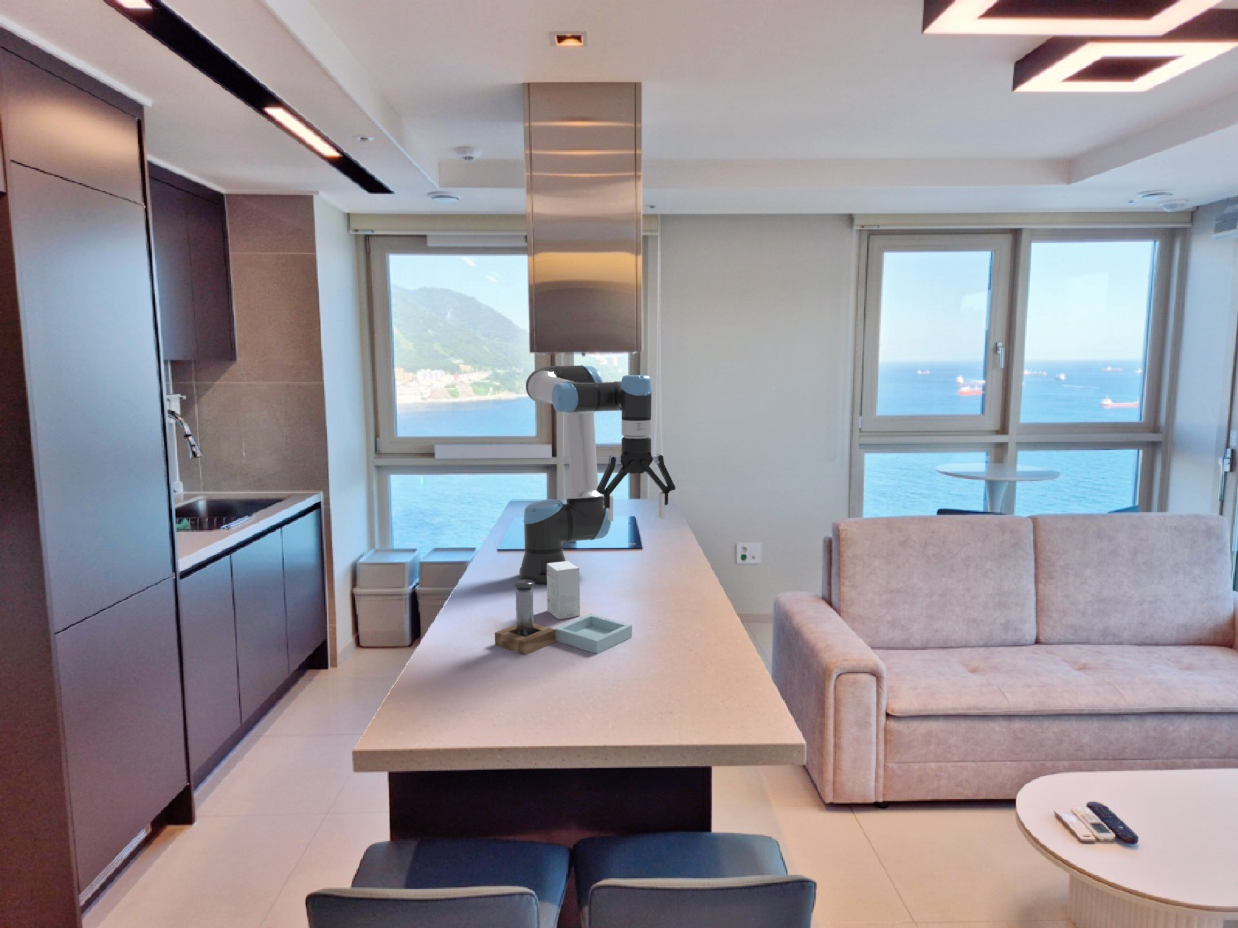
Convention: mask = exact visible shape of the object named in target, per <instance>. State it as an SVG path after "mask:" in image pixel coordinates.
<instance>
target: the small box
mask: <svg viewBox="0 0 1238 928" xmlns="http://www.w3.org/2000/svg"><path fill="white" fill-rule="evenodd" d="M580 582H581V581H580V567H578V566H577V565H575V564H573V563H572V562H570V561H569V560H566V561H564V562H555V563H547V584H546V610H547V612H549V613H550V614H551V615H552V616H553V617H555V618H556V619H557V620H563V619H570V618H575V617H580V616H581V615H580V614H581V606H580V605H581V604H580V600H581V598H580V597H581V595H580V593H581V591H580V590H581V589H580V584H581V583H580Z"/></svg>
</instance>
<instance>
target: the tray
mask: <svg viewBox="0 0 1238 928" xmlns="http://www.w3.org/2000/svg"><path fill="white" fill-rule="evenodd" d="M554 629H555V642H557V643H558V642H559V643H561V644H565V645H569V646H571V647H574V648H577V649H581V650H584V651H587V652H590V653H593V654H597V655H598V654H599V653H602V652H604V651H606V650H609V649H610V648H612V647H615V646H616V645H618V644H620V643H623V642H625V641H626V640H629V639H631V638H633V624H630V623H625V622H621V621H619V620H614V619H610V618H607V617H603V616H599V615H596V614H592V613H590V614H587V615H584V616H583V617H580V618H577V619H575V620H572V621H570V622H568V623H566V624H563V625H560V626H558V627H556V628H554Z"/></svg>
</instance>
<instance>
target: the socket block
mask: <svg viewBox="0 0 1238 928" xmlns="http://www.w3.org/2000/svg"><path fill="white" fill-rule="evenodd" d="M553 643H556V641H555V628H552V627H548V626H546V625H545V626H544V625H541V624H538V623H534V634H532V635H529V636H527V637H523V636H520V635H517V627H516V623H515V624H513V625H511V626H507V627H505V628H503V629H500V630H498V631H495V632H494V645H495V646H499V647H501V648H503V649H507V650H509V651H513V652H516V653H519V654H523V655H524V656H525V655H526V656H527V655H528V654H530V653H533V652H535V651H537V650H540V649H543V648H545V647H547V646H549V645H551V644H553Z"/></svg>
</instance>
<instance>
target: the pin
mask: <svg viewBox="0 0 1238 928" xmlns="http://www.w3.org/2000/svg"><path fill="white" fill-rule="evenodd" d="M535 584H536V583H535V582H534V581H533V580H526V579H525V580H521V579H517V580H515V581H513V587H514V588H515V615H516V616H515V618H516V621H515V622H516V623H515V624H516V627H517V635H520V636H523V637H527V636H529V635H532V634H534V622H535V621H534V587H535V586H536V585H535Z"/></svg>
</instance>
